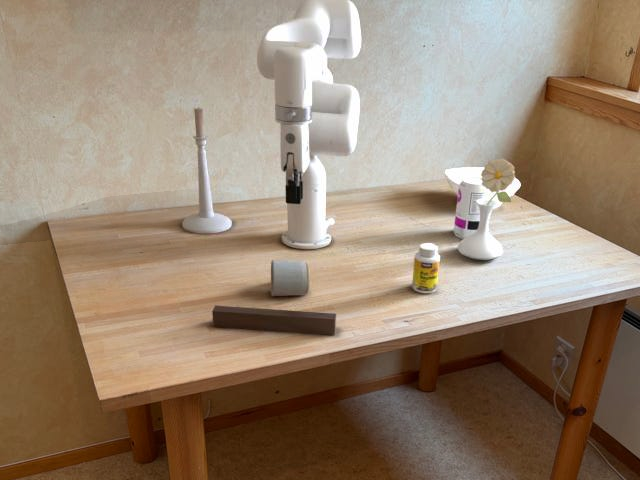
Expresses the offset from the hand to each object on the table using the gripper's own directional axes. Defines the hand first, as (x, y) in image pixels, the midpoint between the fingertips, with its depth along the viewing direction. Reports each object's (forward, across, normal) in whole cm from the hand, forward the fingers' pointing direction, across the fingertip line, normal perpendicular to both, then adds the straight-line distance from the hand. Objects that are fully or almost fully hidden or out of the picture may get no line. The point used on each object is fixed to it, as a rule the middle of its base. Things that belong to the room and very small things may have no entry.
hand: (294, 200), depth 150 cm
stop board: (+17, -27, 0) cm, 32 cm away
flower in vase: (+17, +17, -45) cm, 51 cm away
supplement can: (+17, +31, -42) cm, 55 cm away
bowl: (+17, +58, -47) cm, 76 cm away
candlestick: (+17, +27, +27) cm, 42 cm away
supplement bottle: (+17, -4, -30) cm, 35 cm away
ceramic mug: (+17, -10, 0) cm, 20 cm away
